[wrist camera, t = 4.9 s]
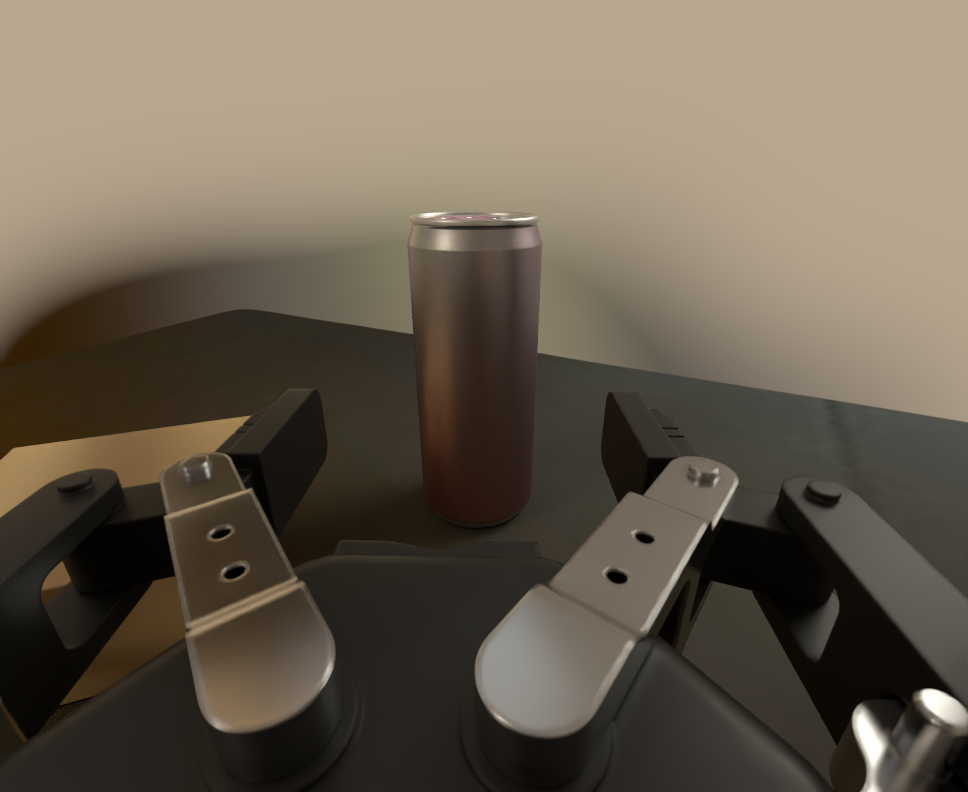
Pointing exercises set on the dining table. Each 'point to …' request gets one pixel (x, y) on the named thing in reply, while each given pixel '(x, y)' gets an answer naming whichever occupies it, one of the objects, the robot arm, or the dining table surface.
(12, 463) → the birch block
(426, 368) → the beverage can
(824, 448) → the dining table surface
